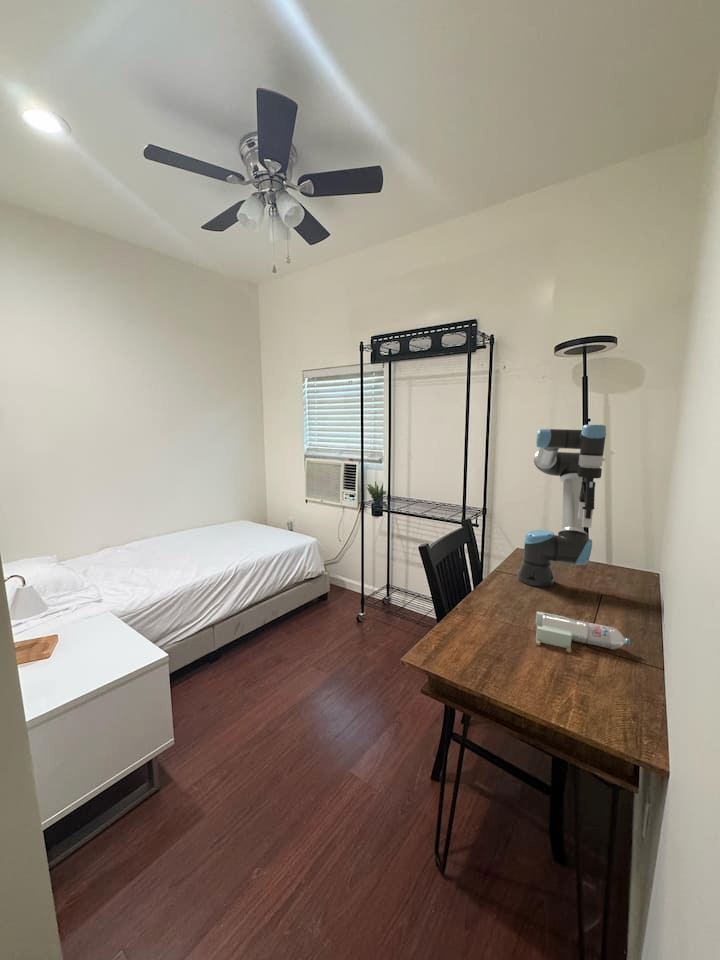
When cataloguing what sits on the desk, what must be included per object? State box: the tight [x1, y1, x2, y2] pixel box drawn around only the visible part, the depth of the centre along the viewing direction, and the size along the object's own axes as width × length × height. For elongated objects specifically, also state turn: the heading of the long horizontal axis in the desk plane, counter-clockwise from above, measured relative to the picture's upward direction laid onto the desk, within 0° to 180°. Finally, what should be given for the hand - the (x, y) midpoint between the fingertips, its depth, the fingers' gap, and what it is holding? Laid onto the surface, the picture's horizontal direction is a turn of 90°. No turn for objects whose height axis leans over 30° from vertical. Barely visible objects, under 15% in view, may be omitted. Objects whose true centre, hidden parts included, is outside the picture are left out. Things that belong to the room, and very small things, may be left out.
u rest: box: [535, 611, 572, 653], centre depth 129 cm, size 10×18×4 cm, turn 156°
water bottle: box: [542, 613, 631, 651], centre depth 126 cm, size 7×7×25 cm
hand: (584, 522), depth 144 cm, fingers open, 13 cm apart
